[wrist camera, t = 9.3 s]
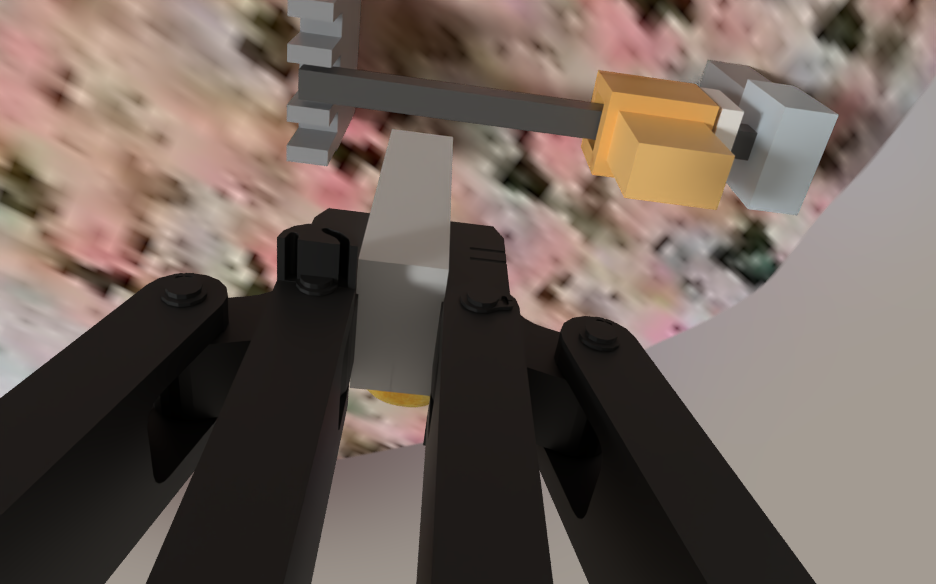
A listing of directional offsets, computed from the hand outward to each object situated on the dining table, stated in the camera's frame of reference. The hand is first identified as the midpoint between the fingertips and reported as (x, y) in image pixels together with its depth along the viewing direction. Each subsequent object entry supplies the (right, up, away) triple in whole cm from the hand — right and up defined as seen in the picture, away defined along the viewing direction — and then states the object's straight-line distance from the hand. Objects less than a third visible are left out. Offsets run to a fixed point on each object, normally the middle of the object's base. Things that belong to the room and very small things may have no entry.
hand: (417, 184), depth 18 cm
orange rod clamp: (+10, +6, +19) cm, 22 cm away
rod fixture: (+6, +10, +24) cm, 27 cm away
